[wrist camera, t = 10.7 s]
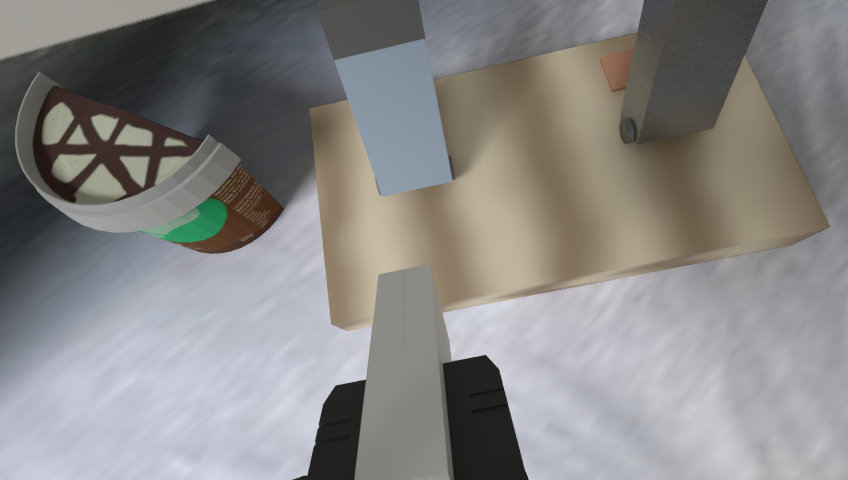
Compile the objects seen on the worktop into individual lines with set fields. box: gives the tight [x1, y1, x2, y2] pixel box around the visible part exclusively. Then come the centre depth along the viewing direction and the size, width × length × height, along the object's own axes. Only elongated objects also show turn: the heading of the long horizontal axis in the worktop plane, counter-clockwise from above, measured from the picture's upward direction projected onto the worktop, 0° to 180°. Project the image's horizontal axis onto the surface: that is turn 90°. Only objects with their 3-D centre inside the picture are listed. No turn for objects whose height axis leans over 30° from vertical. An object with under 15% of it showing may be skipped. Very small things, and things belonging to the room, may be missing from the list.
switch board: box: [309, 33, 830, 331], centre depth 27 cm, size 26×14×3 cm, turn 100°
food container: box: [15, 72, 284, 254], centre depth 26 cm, size 12×6×10 cm, turn 66°
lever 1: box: [317, 0, 456, 197], centre depth 23 cm, size 4×2×11 cm, turn 100°
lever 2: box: [619, 0, 768, 145], centre depth 21 cm, size 4×2×11 cm, turn 100°
